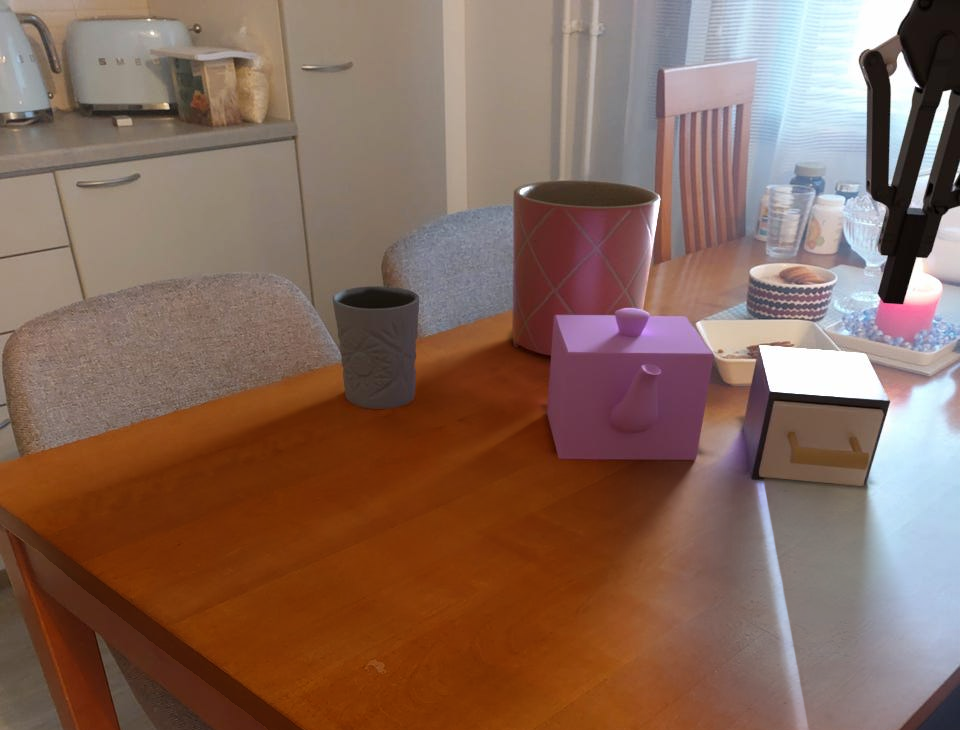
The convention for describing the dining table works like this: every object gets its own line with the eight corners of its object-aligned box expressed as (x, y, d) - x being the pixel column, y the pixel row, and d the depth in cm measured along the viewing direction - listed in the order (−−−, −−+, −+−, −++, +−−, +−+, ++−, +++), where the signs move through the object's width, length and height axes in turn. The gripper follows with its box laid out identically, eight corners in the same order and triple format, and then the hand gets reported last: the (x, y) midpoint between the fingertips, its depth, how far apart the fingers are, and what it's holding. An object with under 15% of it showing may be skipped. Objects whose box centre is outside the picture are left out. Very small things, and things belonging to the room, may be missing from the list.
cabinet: (864, 489, 96) (890, 401, 91) (751, 479, 98) (769, 391, 92) (843, 434, 108) (865, 353, 102) (742, 426, 109) (758, 345, 104)
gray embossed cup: (353, 415, 109) (347, 312, 102) (328, 386, 117) (321, 288, 110) (433, 404, 113) (432, 303, 106) (404, 377, 120) (401, 281, 113)
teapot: (566, 488, 95) (577, 353, 87) (543, 398, 115) (551, 281, 107) (711, 489, 95) (737, 354, 87) (663, 399, 116) (680, 283, 107)
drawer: (872, 512, 90) (895, 437, 86) (763, 501, 91) (780, 427, 87) (843, 434, 106) (861, 367, 101) (750, 426, 107) (764, 360, 102)
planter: (480, 345, 131) (483, 191, 119) (561, 317, 143) (571, 175, 131) (589, 379, 121) (604, 214, 109) (666, 345, 133) (688, 194, 121)
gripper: (899, -79, 58) (811, 306, 72) (1121, -74, 56) (988, 318, 70) (878, -73, 64) (801, 281, 78) (1078, -69, 62) (963, 292, 76)
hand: (890, 298), depth 74 cm, fingers closed
